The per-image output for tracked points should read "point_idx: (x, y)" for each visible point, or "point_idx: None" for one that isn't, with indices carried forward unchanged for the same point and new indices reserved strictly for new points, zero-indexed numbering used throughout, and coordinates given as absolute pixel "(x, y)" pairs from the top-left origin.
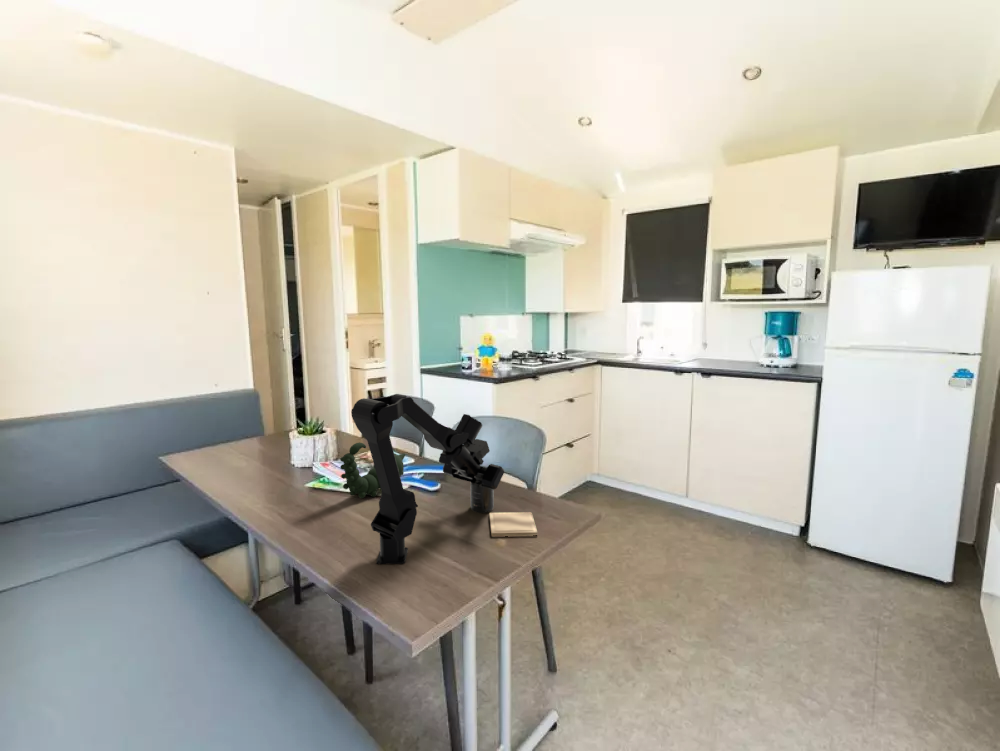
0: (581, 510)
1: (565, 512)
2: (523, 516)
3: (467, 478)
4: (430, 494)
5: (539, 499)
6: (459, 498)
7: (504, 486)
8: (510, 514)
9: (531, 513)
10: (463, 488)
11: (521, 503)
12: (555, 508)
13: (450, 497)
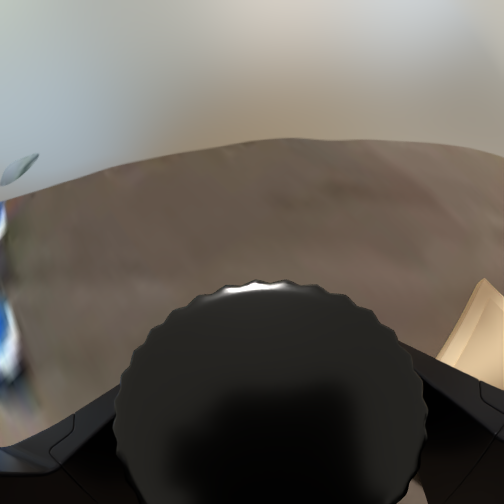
0: (492, 158)
1: (493, 190)
2: (498, 333)
3: (133, 493)
4: (23, 408)
5: (383, 163)
6: (115, 381)
7: (202, 165)
8: (460, 368)
9: (491, 286)
10: (77, 285)
11: (374, 227)
12: (463, 185)
13: (82, 394)
